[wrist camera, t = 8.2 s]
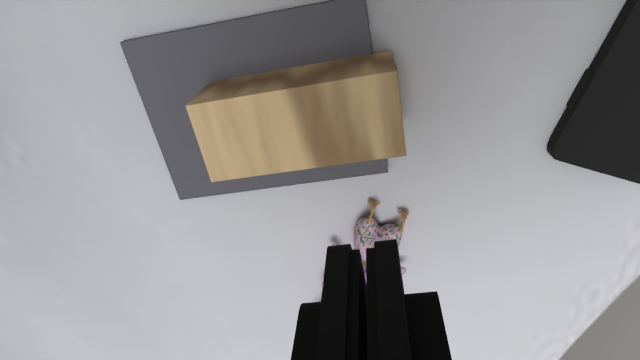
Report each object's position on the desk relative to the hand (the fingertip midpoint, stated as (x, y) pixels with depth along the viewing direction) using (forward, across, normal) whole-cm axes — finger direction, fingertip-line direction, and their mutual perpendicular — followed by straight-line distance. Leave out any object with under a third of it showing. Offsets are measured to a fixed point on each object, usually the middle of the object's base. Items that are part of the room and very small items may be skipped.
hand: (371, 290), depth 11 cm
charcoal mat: (+21, +7, +2) cm, 22 cm away
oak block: (+18, -2, +2) cm, 18 cm away
